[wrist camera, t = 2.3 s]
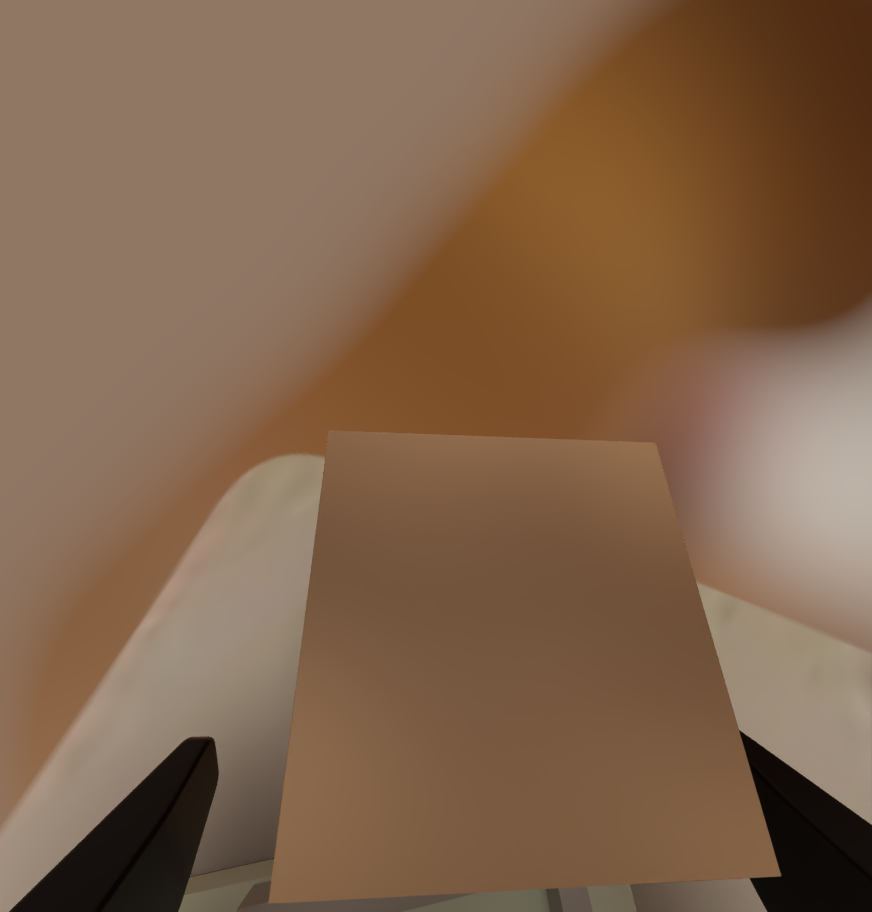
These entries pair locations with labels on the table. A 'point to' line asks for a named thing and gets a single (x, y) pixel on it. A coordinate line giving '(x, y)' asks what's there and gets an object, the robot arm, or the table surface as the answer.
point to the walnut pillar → (506, 680)
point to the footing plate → (248, 888)
